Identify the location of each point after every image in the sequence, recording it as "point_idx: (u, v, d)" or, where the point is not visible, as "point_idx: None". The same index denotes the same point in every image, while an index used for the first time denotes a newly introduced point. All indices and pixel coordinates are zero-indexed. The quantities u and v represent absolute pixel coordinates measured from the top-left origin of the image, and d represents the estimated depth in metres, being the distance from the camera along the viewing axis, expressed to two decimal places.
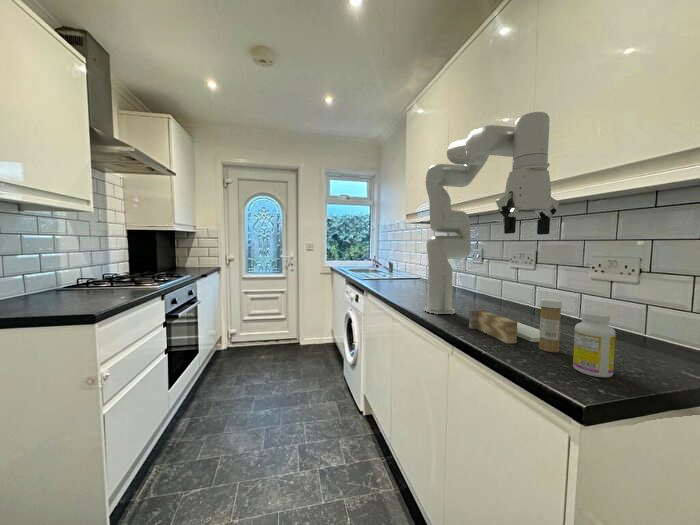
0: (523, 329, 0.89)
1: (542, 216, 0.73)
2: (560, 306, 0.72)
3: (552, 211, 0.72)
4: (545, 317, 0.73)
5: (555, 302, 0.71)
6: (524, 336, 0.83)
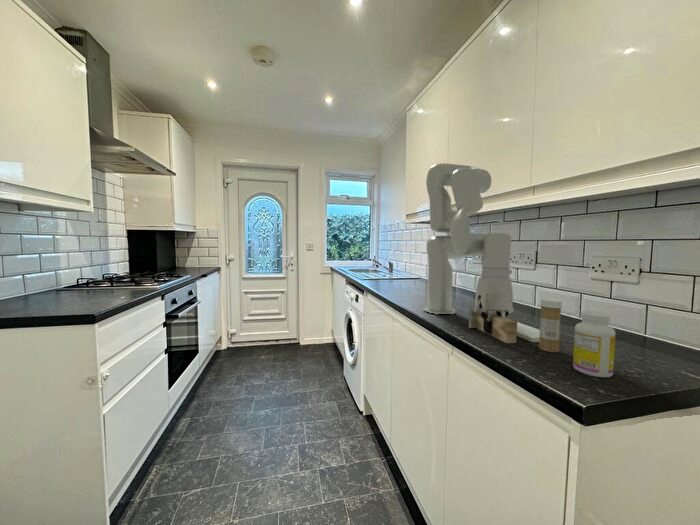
0: (523, 329, 0.89)
1: None
2: (560, 306, 0.72)
3: (505, 314, 0.86)
4: (545, 317, 0.73)
5: (555, 302, 0.71)
6: (524, 336, 0.83)
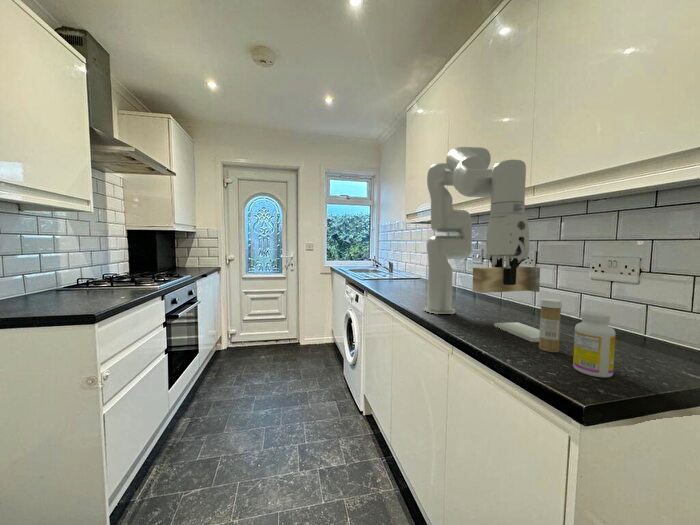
0: (523, 329, 0.89)
1: None
2: (560, 306, 0.72)
3: (512, 261, 0.68)
4: (545, 317, 0.73)
5: (555, 302, 0.71)
6: (524, 336, 0.83)
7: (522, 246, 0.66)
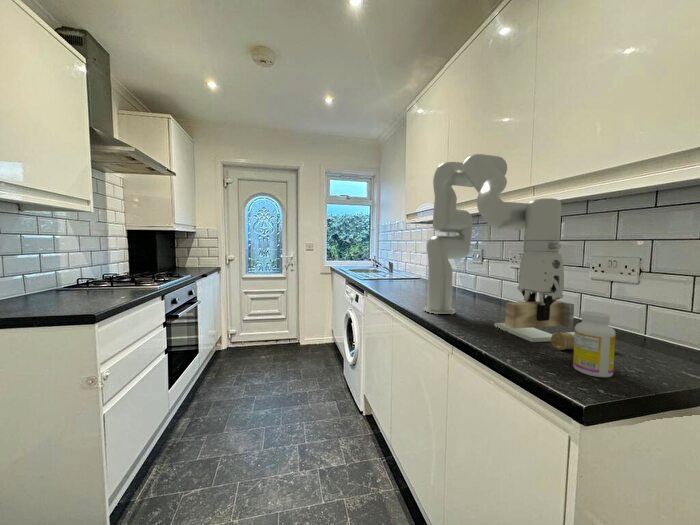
0: (523, 329, 0.89)
1: None
2: None
3: (546, 298, 0.69)
4: None
5: None
6: (524, 336, 0.83)
7: (557, 285, 0.67)
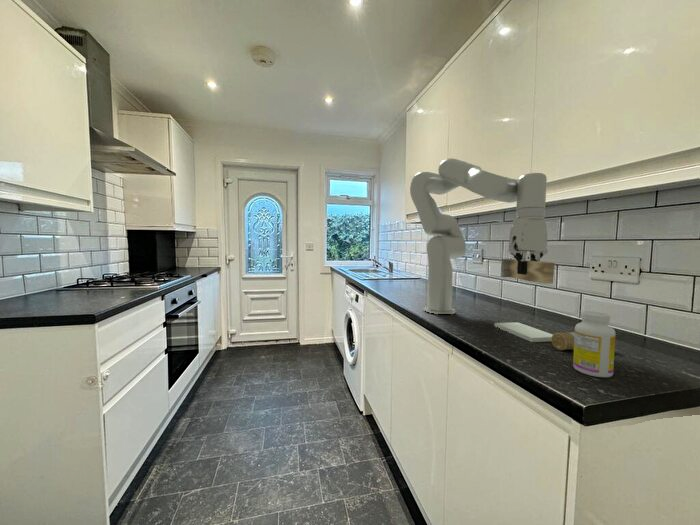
0: (523, 329, 0.89)
1: (532, 258, 0.88)
2: None
3: (540, 255, 0.87)
4: None
5: None
6: (524, 336, 0.83)
7: None
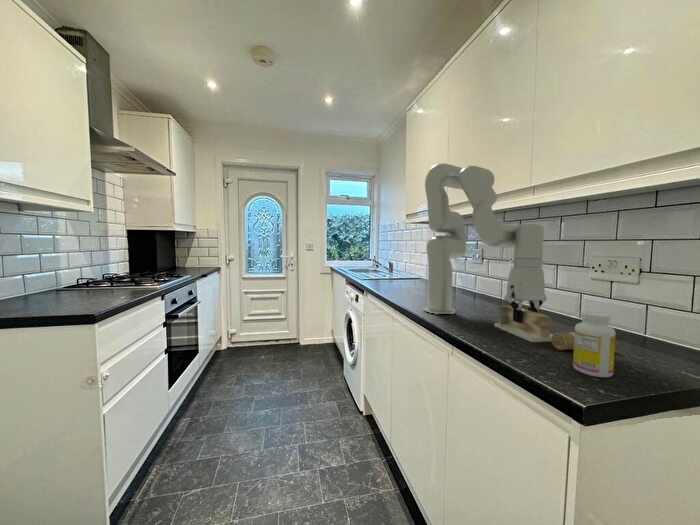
0: None
1: (531, 305, 0.89)
2: None
3: (539, 303, 0.88)
4: None
5: None
6: (524, 336, 0.83)
7: None
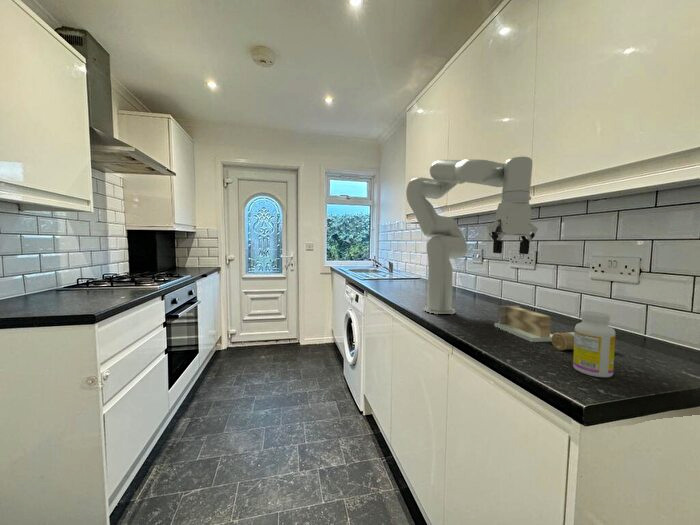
0: None
1: (523, 239, 0.90)
2: None
3: (531, 235, 0.89)
4: None
5: None
6: (524, 336, 0.83)
7: None
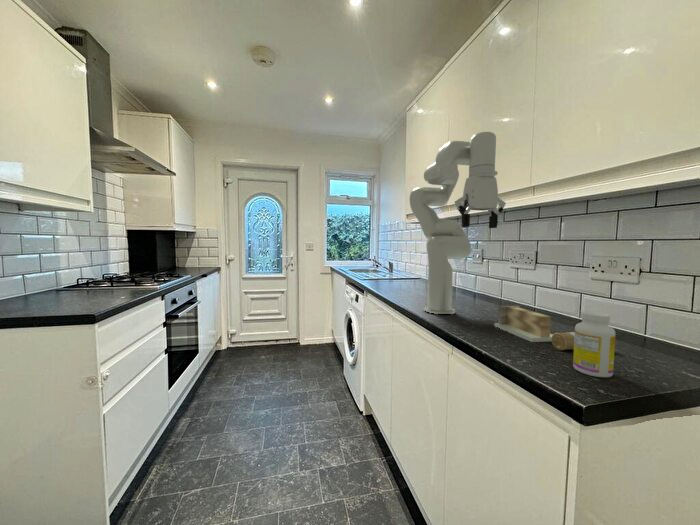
0: None
1: (492, 213, 0.92)
2: None
3: (500, 209, 0.91)
4: None
5: None
6: (524, 336, 0.83)
7: None
